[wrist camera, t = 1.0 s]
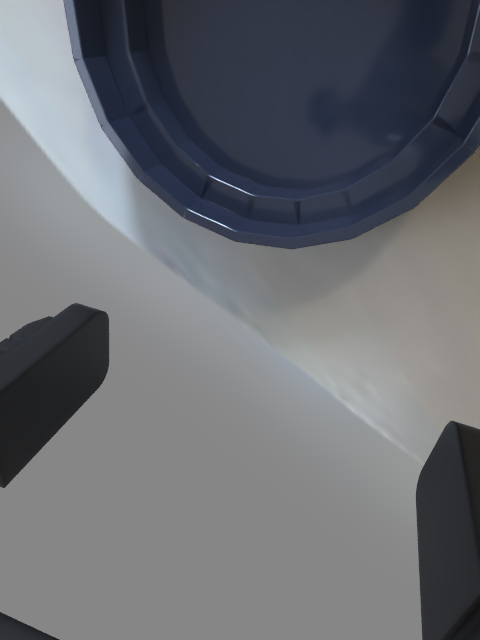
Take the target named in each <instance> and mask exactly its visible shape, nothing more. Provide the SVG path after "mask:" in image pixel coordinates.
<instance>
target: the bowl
mask: <svg viewBox="0 0 480 640" xmlns="http://www.w3.org/2000/svg"><path fill="white" fill-rule="evenodd" d="M63 1H64V7H65V13H66V18H67V24H68V30H69V36H70V42H71V47H72V53H73V59H74V62H75V65H76V67H77V70H78V72H79V74H80V77H81V79H82V82H83V84H84V87H85V89H86V92H87V94H88V97H89V99H90V101H91V104H92V106H93V109H94V111H95V114H96V116H97V119H98V121H99V124H100V126H101V128H102V130H103V131H104V132H105V134H106V135H107V137H108V138H109V139H110V141H111V142H112V144H113V145H114V146H115V148H116V149H117V151H118V152H119V154H120V155H121V156H122V158H123V159H124V161H125V162H126V163H127V165H128V166H129V168H130V169H131V171H132V172H133V173H134V175H135V176H136V178H137V179H139V181H140V182H142V183H143V184H144V185H145V186H146V187H147V188H149V189H150V190H151V191H152V192H153V193H155V194H156V195H157V196H158V197H159V198H160V199H162V200H163V201H164V202H165V203H166V204H167V205H169V206H170V207H171V208H172V209H173V210H175V211H176V212H177V213H178V214H179V215H180V216H182V217H184V218H185V219H187V220H189V221H191V222H193V223H196V224H198V225H200V226H202V227H204V228H206V229H209V230H211V231H213V232H215V233H217V234H220V235H222V236H224V237H226V238H228V239H231V240H233V241H235V242H242V243H249V244H257V245H264V246H271V247H279V248H286V249H296V248H302V247H308V246H314V245H320V244H326V243H331V242H337V241H343V240H349V239H352V238H355V237H357V236H359V235H361V234H363V233H365V232H367V231H369V230H371V229H373V228H375V227H377V226H379V225H381V224H383V223H385V222H387V221H389V220H391V219H393V218H395V217H397V216H399V215H401V214H403V213H405V212H407V211H409V210H411V209H413V208H414V207H416V206H417V205H418V204H419V203H420V202H422V201H423V200H424V199H425V198H426V197H427V196H428V195H429V194H430V193H431V192H432V191H433V190H435V189H436V188H437V187H438V186H439V185H440V184H441V183H442V182H443V181H444V180H445V179H446V178H448V177H449V176H450V175H451V174H452V173H453V172H454V171H455V170H456V169H457V168H458V167H459V166H461V165H462V164H463V163H464V162H465V161H466V160H467V159H468V158H469V157H470V156H471V155H472V154H474V152H475V151H476V150H477V149H478V147H479V145H480V0H63Z"/></svg>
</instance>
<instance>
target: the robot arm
mask: <svg viewBox="0 0 480 640" xmlns="http://www.w3.org/2000/svg"><path fill="white" fill-rule="evenodd" d="M108 367H109V318H108V315H107V313H106V312H104V311H101V310H97V309H94V308H91V307H88V306H84V305H81V304H78V303H75V304H72V305H70V306H69V307H67V308H66V309H65V310H63V311H62V312H60V313H59V314H58V315H56V316H55V317H50V316H49V317H46V318H43V319H40V320H37V321H34V322H32V323H29V324H27V325H25V326H24V327H22V328H21V329H19V330H18V331H16V332H15V333H13V334H12V335H10V338H9V339H7V338H6V339H5V340H3V341H2V342H0V487H3V488H5V487H6V486H7V485H8V484H9V483H10V481H11V480H12V479H13V478H14V477H15V476H16V475H17V474H18V473H19V472H20V471H21V470H22V469H23V468H24V467H25V466H26V464H27V463H28V462H29V461H30V460H31V459H32V458H33V457H34V456H35V455H36V454H37V453H38V452H39V451H40V450H41V449H42V447H43V446H44V445H45V444H46V443H47V442H48V441H49V440H50V439H51V438H52V437H53V436H54V435H55V434H56V433H57V432H58V430H59V429H60V428H61V427H62V426H63V425H64V424H65V423H66V422H67V421H68V420H69V419H70V418H71V417H72V416H73V414H74V413H75V412H76V411H77V410H78V409H79V408H80V407H81V406H82V405H83V404H84V403H85V402H86V401H87V399H89V397H90V396H91V395H92V394H93V393H94V392H95V391H96V390H97V389H98V388H99V387H100V385H101V384H102V382H103V381H104V379H105V376H106V374H107V371H108ZM416 509H417V531H418V552H419V573H420V595H421V617H422V638H423V640H480V429H477V428H474V427H471V426H467V425H464V424H461V423H458V422H455V421H450V422H449V423H448V424H447V425H446V427H445V428H444V430H443V432H442V434H441V436H440V437H439V439H438V441H437V443H436V445H435V446H434V448H433V450H432V452H431V454H430V456H429V457H428V459H427V461H426V463H425V465H424V466H423V468H422V471H421V473H420V476H419V479H418V484H417V490H416ZM0 640H59V639H57V638H55V637H52V636H50V635H48V634H46V633H43V632H41V631H39V630H37V629H35V628H33V627H31V626H29V625H27V624H24V623H22V622H20V621H18V620H16V619H14V618H12V617H9V616H7V615H5V614H3V613H1V612H0Z"/></svg>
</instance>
